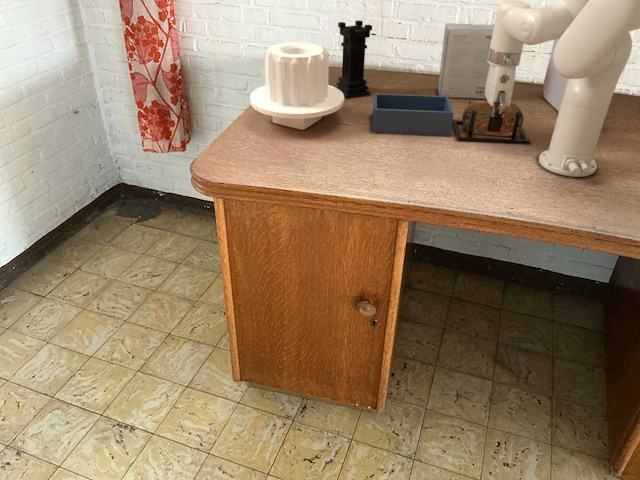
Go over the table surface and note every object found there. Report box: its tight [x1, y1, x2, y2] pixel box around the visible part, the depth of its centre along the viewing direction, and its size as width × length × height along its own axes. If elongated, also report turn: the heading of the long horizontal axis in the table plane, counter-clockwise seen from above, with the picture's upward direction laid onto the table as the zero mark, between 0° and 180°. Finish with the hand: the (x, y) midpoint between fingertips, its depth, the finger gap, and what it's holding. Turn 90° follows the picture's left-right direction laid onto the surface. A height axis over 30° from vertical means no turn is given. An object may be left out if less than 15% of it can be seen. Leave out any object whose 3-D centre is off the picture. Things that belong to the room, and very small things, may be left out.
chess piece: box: [334, 19, 373, 99], centre depth 161 cm, size 8×8×20 cm
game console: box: [542, 38, 569, 112], centre depth 150 cm, size 6×27×20 cm, turn 2°
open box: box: [371, 92, 454, 137], centre depth 144 cm, size 12×20×6 cm, turn 85°
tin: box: [461, 100, 524, 137], centre depth 140 cm, size 15×3×8 cm, turn 76°
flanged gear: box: [249, 41, 345, 131], centre depth 142 cm, size 25×25×19 cm
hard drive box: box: [437, 23, 495, 100], centre depth 160 cm, size 16×8×20 cm, turn 84°
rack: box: [452, 101, 530, 145], centre depth 140 cm, size 12×18×7 cm, turn 85°
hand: (490, 123), depth 141 cm, fingers open, 9 cm apart
